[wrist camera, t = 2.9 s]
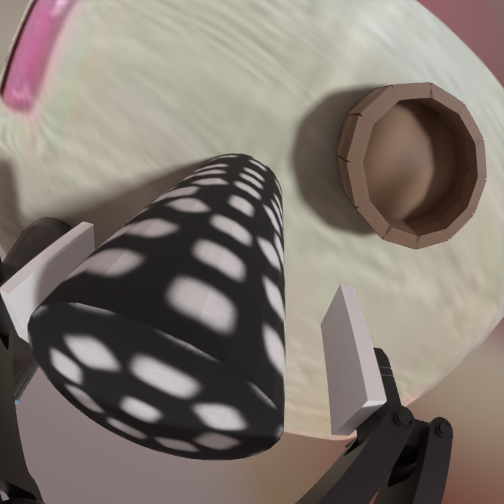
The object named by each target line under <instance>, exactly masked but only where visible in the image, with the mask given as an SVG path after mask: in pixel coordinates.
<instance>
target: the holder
mask: <svg viewBox="0 0 504 504" xmlns="http://www.w3.org/2000/svg"><path fill="white" fill-rule="evenodd" d="M482 139H483V136H482V134H481V133H480V131H479V129H478V127H477V125H476V123H475V121H474V119H473V118H472V116H471V114H470V112H469V111H468V109H467V107H466V106H465V104H463V102H461V101H460V100H458V99H457V98H455V97H454V96H452V95H451V94H449V93H448V92H446V91H444V90H443V89H441V88H440V87H438V86H436V85H434V84H433V83H430V82H425V83H408V84H395V85H389V86H385V87H380V88H376V89H374V90H373V91H372V92H371V93H370V94H369V95H367V96H365V97H364V98H363V99H361V100H360V101H359V102H358V103H357V104H356V105H355V106H354V107H353V108H352V110H351V111H350V112H349V113H348V115H347V117H346V119H345V121H344V123H343V126H342V129H341V131H340V135H339V140H338V146H337V164H338V170H339V175H340V178H341V181H342V184H343V186H344V191H345V194H346V196H347V198H348V199H349V200H350V201H351V203H352V204H353V205H354V206H355V208H356V209H357V210H358V211H359V213H360V214H361V215H362V216H363V217H364V218H365V219H366V221H367V222H368V223H369V224H370V225H371V227H372V228H373V229H374V230H375V231H376V233H377V234H378V235H379V236H380V238H382V239H383V240H386V241H389V242H392V243H396V244H399V245H402V246H405V247H408V248H412V249H415V248H416V249H420V248H424V247H428V246H431V245H435V244H438V243H441V242H445V241H448V239H451V238H452V237H453V236H454V235H455V234H456V233H457V232H458V231H459V230H460V229H461V228H462V227H463V226H464V225H465V224H466V223H467V222H468V221H469V220H470V219H471V218H472V216H473V214H474V213H475V211H476V208H477V206H478V203H479V200H480V197H481V195H482V192H483V189H484V186H485V183H486V179H484V178H487V174H486V157H485V146H484V140H482ZM472 213H473V214H472Z"/></svg>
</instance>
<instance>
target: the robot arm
mask: <svg viewBox="0 0 504 504" xmlns="http://www.w3.org/2000/svg"><path fill="white" fill-rule="evenodd" d="M94 250H95V239H94V224H91V223H87V222H84V221H83V222H82V223H80V224H79V225H77V226H76V227H75V228H73V229H71V228H70V227H69V226H67V225H66V224H64V223H63V222H61V221H59V220H56V219H53V218H42V219H39V220H37V221H36V222H34V223H33V224H31V225H30V226H28V227H27V228H26V229H25V230H24V231H23V232H22V234H21V236H20V238H19V239H18V240H17V242H16V243H15V244H14V246H13V247H12V249H11V250H10V252H9V253H8V255H7V257H6V258H5V260H4V261H3V262H2V261H1V258H0V490H1V491H3V492H4V493H6V494H7V496H8V497H9V500H5V501H2V498H1V495H0V504H45V503H44V502H43V500H42V497H41V494H40V491H39V489H38V486H37V484H36V482H35V480H34V479H33V478H32V476H31V475H30V474H29V472H28V469H27V466H26V462H25V459H24V454H23V450H22V445H21V440H20V435H19V429H18V423H17V415H16V407H15V404H17V403H18V401H19V398H20V396H21V395H22V393H23V391H24V390H25V388H26V386H27V385H28V383H29V381H30V380H31V378H32V377H33V375H34V374H35V372H36V371H37V369H38V367H39V365H38V363H37V361H36V359H35V357H34V355H33V353H32V351H31V347H30V344H29V341H28V333H27V324H28V322H29V319H30V316H31V314H32V313H33V312H34V310H35V309H36V308H37V307H38V306H39V305H40V304H41V303H42V302H43V301H44V300H45V298H46V297H47V296H48V295H49V294H50V293H51V292H52V291H53V290H54V289H55V288H56V287H57V286H58V285H59V284H60V283H61V282H62V281H63V280H64V279H65V278H66V277H67V276H68V275H69V274H70V273H71V272H72V271H73V270H74V269H75V268H76V267H77V266H78V265H79V264H80V263H81V262H83V261H84V260H85V259H86V258H87V257H88V256H89V255H90V254H91V253H92V252H93V251H94ZM321 329H322V336H323V345H324V353H325V362H326V371H327V381H328V392H329V403H330V416H331V430H332V435H350V434H351V433H352V432H353V431H354V430H357V437H356V438H355V439H353V440H352V441H351V442H350V443H348V444H347V445H346V446H345V447H346V448H347V449H346V450H345V451H344V452H343V454H342V455H341V456H340V457H339V459H338V460H337V461H336V462H335V463H334V464H333V465H332V466H331V468H330V469H329V470H328V471H327V472H326V473H325V474H324V475H323V476H322V478H321V479H320V480H319V481H318V482H317V483H316V484H315V485H314V486H313V487H312V488H311V489H310V490H309V491H308V492H307V493H306V494H305V495H304V496H303V497H302V498H301V499H300V500H299V501H298V502H297V503H295V504H369V502H370V501H371V499H372V498H373V497H374V495H375V494H376V492H377V491H378V490H379V491H378V494H377V496H376V499H375V501H374V503H373V504H441V501H442V498H443V494H444V489H445V485H446V480H447V475H448V469H449V463H450V456H451V448H452V439H453V429H452V427H451V424H450V423H449V422H448V420H446V419H445V418H442V417H437V418H434V419H433V420H432V421H431V422H430V423H427V422H424V421H420V420H417V419H414V416H413V414H412V412H411V411H410V410H409V409H408V408H406V407H404V406H402V405H401V402H400V398H399V394H398V390H397V387H396V383H395V380H394V377H393V373H392V369H390V368H391V366H390V363H389V360H388V357H387V356H386V354H385V353H384V352H383V350H382V349H380V348H373V346H372V342H371V339H370V335H369V332H368V329H367V326H366V322H365V319H364V316H363V313H362V310H361V307H360V304H359V301H358V298H357V295H356V292H355V289H354V287H351V286H347V285H343V284H340V286H339V288H338V290H337V292H336V294H335V296H334V298H333V301H332V303H331V305H330V307H329V309H328V311H327V313H326V315H325V317H324V319H323V321H322V323H321ZM379 488H380V489H379Z"/></svg>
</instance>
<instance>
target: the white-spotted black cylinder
mask: <svg viewBox="0 0 504 504" xmlns="http://www.w3.org/2000/svg"><path fill="white" fill-rule="evenodd" d="M27 333H28V341H29V344H30V347H31V351H32V353H33V355H34V357H35V359H36V361H37V363H38V365H39V367H40V368H41V370H42V371H43V372H44V374H45V375H46V377H47V378H48V380H49V381H50V382H51V383H52V384H53V385H54V387H55V388H56V389H57V390H58V391H59V392H60V393H61V394H62V395H63V396H64V397H65V398H66V399H67V400H68V401H69V402H70V403H71V404H72V405H73V406H75V407H76V408H77V409H79V410H80V411H81V412H82V413H84V414H85V415H86V416H88V417H89V418H90V419H92V420H93V421H95V422H96V423H98V424H100V425H101V426H103V427H104V428H106V429H108V430H109V431H111V432H113V433H115V434H117V435H119V436H121V437H123V438H125V439H127V440H129V441H132V442H134V443H136V444H139V445H141V446H144V447H147V448H150V449H153V450H156V451H159V452H163V453H166V454H170V455H174V456H180V457H185V458H191V459H201V460H233V459H241V458H246V457H249V456H253V455H256V454H260V453H262V452H264V451H266V450H268V449H270V448H271V447H272V446H273V445H274V444H275V443H276V442H278V441H279V439H280V437H281V435H282V432H283V430H284V403H285V261H284V227H283V201H282V190H281V187H280V184H279V181H278V179H277V178H276V176H275V174H274V173H273V172H272V171H271V169H270V168H269V167H268V166H267V165H265V164H264V163H263V162H261V161H260V160H258V159H256V158H254V157H252V156H248V155H245V154H235V153H232V154H225V155H221V156H218V157H216V158H214V159H212V160H210V161H209V162H207V163H206V164H204V165H203V166H201V167H200V168H198V169H197V170H195V171H194V172H193V173H191V174H190V175H188V176H187V177H185V178H184V179H183V180H181V181H180V182H178V183H177V184H176V185H174V186H173V187H172V188H170V189H169V190H168V191H166V192H165V193H164V194H162V195H161V196H160V197H158V198H157V199H156V200H154V201H153V202H152V203H151V204H149V205H148V206H147V207H145V208H144V209H143V210H142V211H140V212H139V213H138V214H137V215H135V216H134V217H133V218H132V219H130V220H129V221H128V222H127V223H126V224H124V225H123V226H122V227H121V228H120V229H118V230H117V231H116V232H115V233H114V234H113V235H111V236H110V237H109V238H108V239H107V240H106V241H105V242H103V243H102V244H101V245H100V246H99V247H98V248H97V249H96V250H94V251H93V252H92V253H91V254H90V255H89V256H88V257H87V258H86V259H85V260H84V261H83V262H81V263H80V264H79V265H78V266H77V267H76V268H75V269H74V270H73V271H72V272H71V273H70V274H69V275H68V276H67V277H66V278H65V279H64V280H63V281H62V282H61V283H60V284H59V285H58V286H57V287H56V288H55V289H54V290H53V291H52V292H51V293H50V294H49V295H48V296H47V297H46V298H45V300H44V301H43V302H42V303H41V304H40V305H39V306H38V307H37V308H36V309H35V310H34V312H33V313H32V314H31V316H30V319H29V322H28V324H27Z"/></svg>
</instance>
